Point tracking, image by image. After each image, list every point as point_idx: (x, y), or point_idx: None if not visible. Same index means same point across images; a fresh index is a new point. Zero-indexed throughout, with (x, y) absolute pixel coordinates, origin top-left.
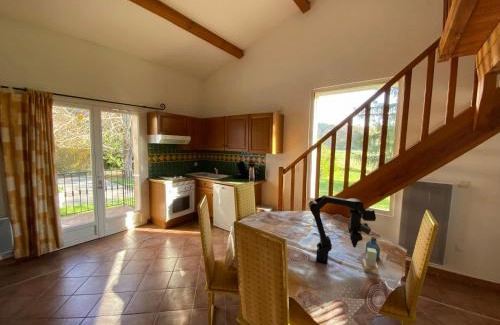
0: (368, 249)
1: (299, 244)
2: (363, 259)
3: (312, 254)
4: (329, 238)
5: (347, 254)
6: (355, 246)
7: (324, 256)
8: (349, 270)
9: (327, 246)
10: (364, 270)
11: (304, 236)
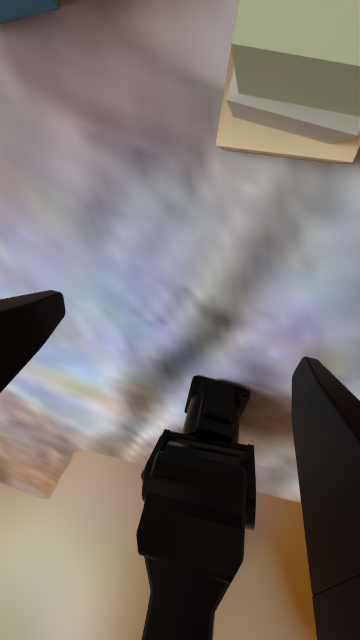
0: (344, 25)
1: (103, 435)
2: (222, 139)
3: (169, 417)
4: (198, 573)
5: (102, 237)
6: (333, 382)
7: (236, 431)
8: (312, 288)
9: (253, 522)
10: (331, 162)
11: (23, 401)
